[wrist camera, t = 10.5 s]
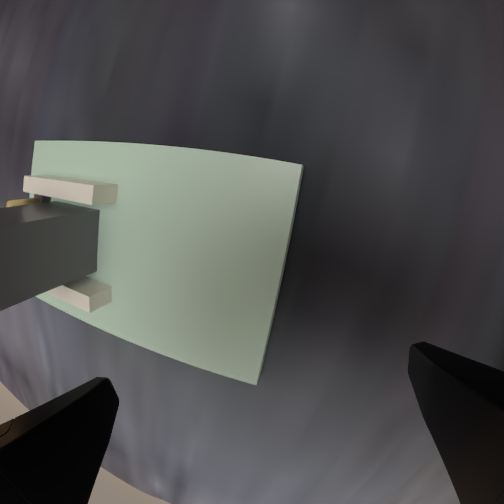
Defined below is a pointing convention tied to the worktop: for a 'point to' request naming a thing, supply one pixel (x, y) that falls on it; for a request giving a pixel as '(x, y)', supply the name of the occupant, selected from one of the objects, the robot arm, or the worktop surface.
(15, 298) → the plug
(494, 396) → the robot arm
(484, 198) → the worktop surface
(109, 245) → the board
